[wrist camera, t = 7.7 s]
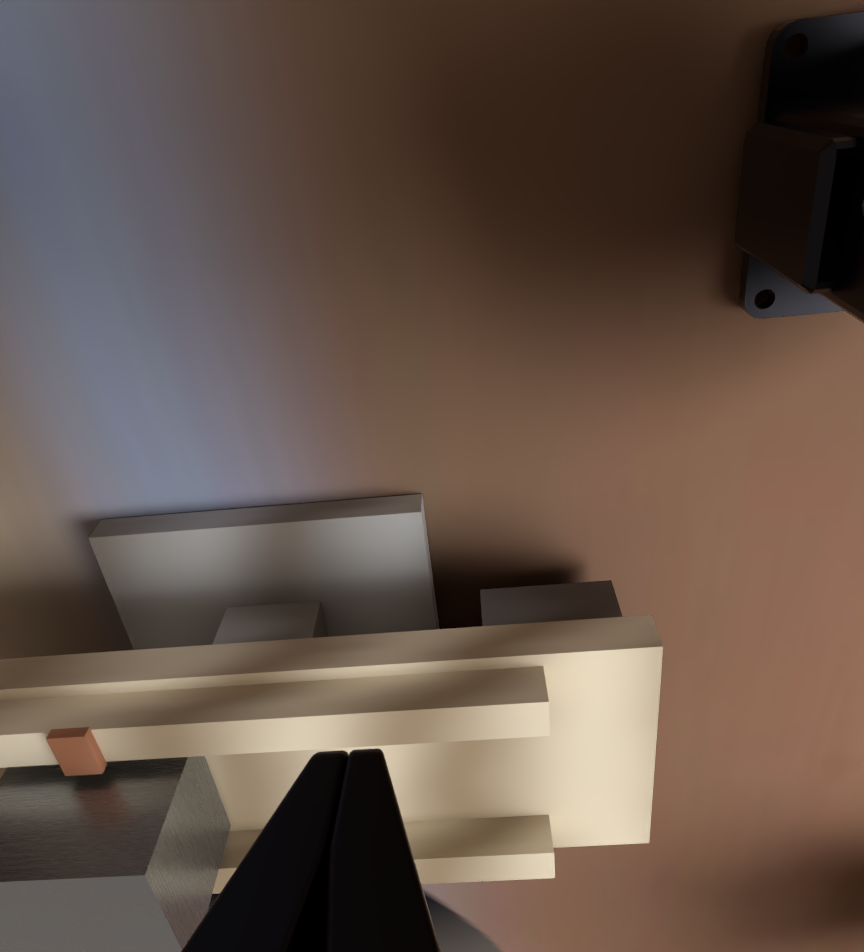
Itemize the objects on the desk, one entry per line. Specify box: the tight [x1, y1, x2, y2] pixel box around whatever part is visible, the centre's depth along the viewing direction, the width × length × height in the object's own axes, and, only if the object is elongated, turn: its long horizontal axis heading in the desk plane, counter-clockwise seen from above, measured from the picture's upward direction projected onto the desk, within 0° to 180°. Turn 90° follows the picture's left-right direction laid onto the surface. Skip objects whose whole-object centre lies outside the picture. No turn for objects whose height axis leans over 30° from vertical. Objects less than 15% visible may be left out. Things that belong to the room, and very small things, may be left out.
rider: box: [0, 756, 231, 952], centre depth 20 cm, size 5×4×4 cm
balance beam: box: [0, 494, 663, 894], centre depth 23 cm, size 22×12×6 cm, turn 96°
